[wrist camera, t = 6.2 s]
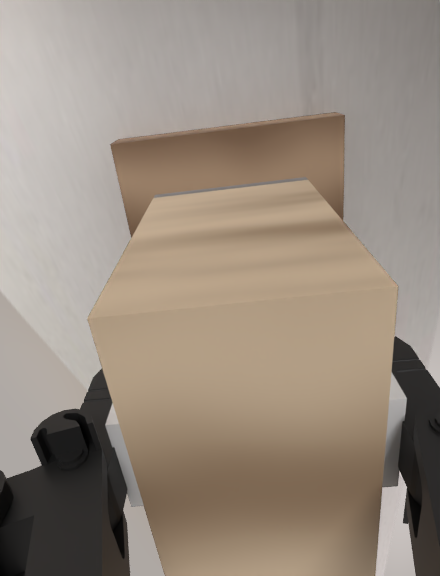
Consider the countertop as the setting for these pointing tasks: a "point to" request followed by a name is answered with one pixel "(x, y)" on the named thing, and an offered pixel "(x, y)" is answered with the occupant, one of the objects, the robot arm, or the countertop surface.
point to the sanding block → (252, 380)
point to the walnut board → (232, 159)
